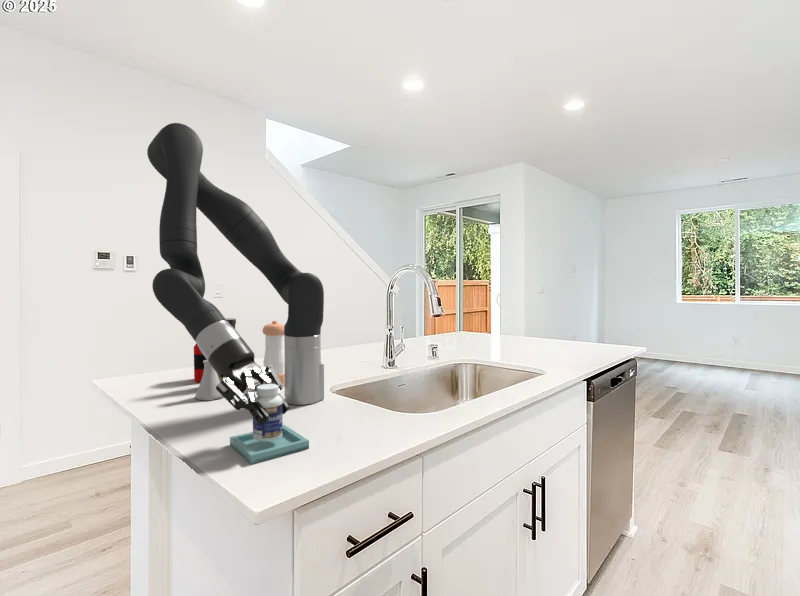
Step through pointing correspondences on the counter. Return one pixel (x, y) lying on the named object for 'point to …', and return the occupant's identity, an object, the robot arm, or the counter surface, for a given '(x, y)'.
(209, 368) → the flask
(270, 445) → the tray
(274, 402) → the pill bottle
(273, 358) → the salt shaker
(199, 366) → the soda can
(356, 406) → the counter surface
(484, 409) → the counter surface
